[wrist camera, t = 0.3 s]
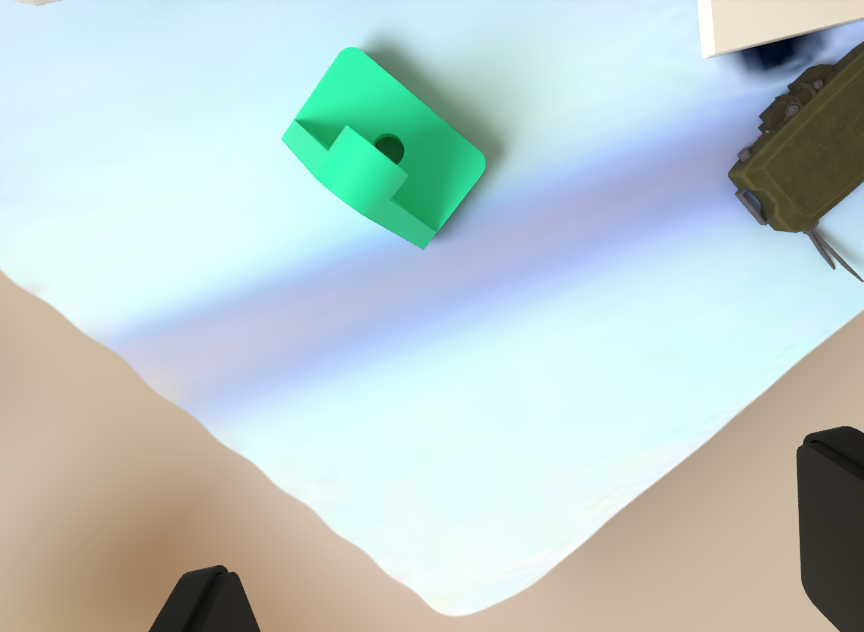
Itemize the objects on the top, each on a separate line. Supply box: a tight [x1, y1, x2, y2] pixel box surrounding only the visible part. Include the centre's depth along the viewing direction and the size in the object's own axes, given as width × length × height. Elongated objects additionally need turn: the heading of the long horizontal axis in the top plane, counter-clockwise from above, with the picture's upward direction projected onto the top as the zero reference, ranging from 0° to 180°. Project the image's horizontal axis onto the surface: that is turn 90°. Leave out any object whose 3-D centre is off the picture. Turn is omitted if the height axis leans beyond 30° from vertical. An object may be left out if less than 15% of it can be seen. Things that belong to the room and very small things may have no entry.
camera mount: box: [281, 47, 486, 250], centre depth 31 cm, size 12×8×10 cm, turn 52°
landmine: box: [728, 42, 864, 282], centre depth 36 cm, size 14×3×15 cm
